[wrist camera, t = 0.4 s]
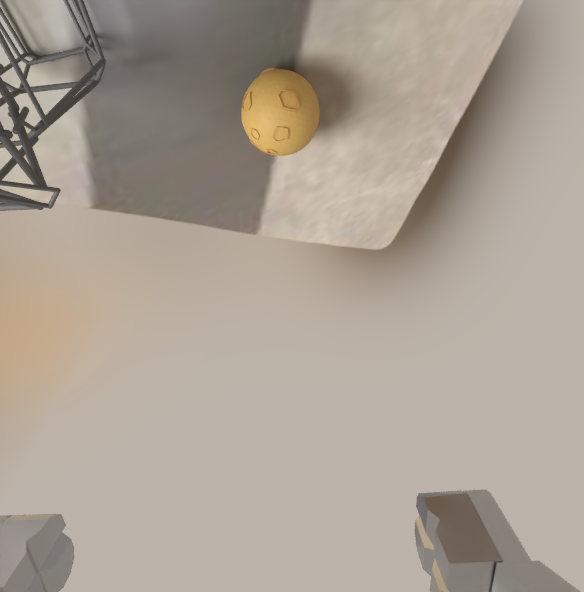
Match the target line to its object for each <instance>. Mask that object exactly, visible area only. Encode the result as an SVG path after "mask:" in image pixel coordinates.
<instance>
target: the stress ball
mask: <svg viewBox="0 0 584 592" xmlns="http://www.w3.org/2000/svg"><path fill="white" fill-rule="evenodd" d="M319 118H320V108H319V102H318V98H317V96H316V93H315V91H314V90H313V88H312V86H311V85H310V84H309V82H308V81H307V80H305V79H304V78H303V77H302V76H300V75H299V74H297V73H295V72H293V71H290V70H284V69H278V68H274V67H273V68H270V69H267V70H265V71H263V72H261V74H260V76H259V77H257V78H256V79H255V80H254V81H253V82H252V83H251V85H250V86H249V88H248V89H247V91H246V93H245V96H244V99H243V102H242V119H241V120H242V123H243V126H244V128H245V131H246V133H247V135H248V137H249V138H250V139H249V140H250V141H251V142H252V144H253V145H254V146H255V147H256V148H258V149H259V150H260V151H262V152H264V153H266V154H267V153H269V154H271V155H277V156H285V155H290V154H293V153H296V152H298V151H300V150H301V149H303V148H304V147H305V146H306V145H307V144H308V143H309V142H310V141H311V140H312V138H313V137H314V135H315V133H316V130H317V128H318V124H319Z"/></svg>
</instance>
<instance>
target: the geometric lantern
mask: <svg viewBox="0 0 584 592" xmlns="http://www.w3.org/2000/svg"><path fill="white" fill-rule="evenodd" d="M72 1H73V3H74V6H75V8H76V10H77V12H78V14H79V16H80V18H81V20H82V22H83V25H84V27H85V29H86V31H87V33H88V36H87V37H86V38H85V36H84V34H83V32H82V30H81V28H80V25H79V23H78V21H77V19H76V17H75V15H74V13H73V11H72V9H71V7H70V5H69V2H68V0H64V2H65V4H66V6H67V8H68V11H69V13H70V15H71V17H72V19H73V21H74V23H75V25H76V27H77V29H78V31H79V33H80V35H81V37H82V39H83V41H84V46H83V47H82V48H77V49H73V50H68V51H64V52H59V53H55V54H51V55H46V56H42V57H36V56H34V55H31V54H29V53H27V51H26V50H25V48H24V46H23V45H22V43H21V41H20V40H19V38H18V36H17V35H16V33H15V31H14V30H13V28H12V26H11V25H10V23H9V21H8V20H7V18H6V16H5V14H4V13H3V11H2V9H1V8H0V15H1V16H2V18H3V19H4V21H5V23H6V24H7V26H8V28H9V29H10V31H11V33H12V34H13V36H14V38H15V39H16V41H17V43H18V44H19V46H20V48H21V49H22V51H23V54H21V55H20V53H19V52H18V50H17V48H16V47H15V45H14V43H13V42H12V40H11V39H10V37H9V35H8V34H7V32H6V31H5V29H4V27H3V26H2V24H1V22H0V29H1V31H2V32H3V34H4V35H5V37H6V39H7V40H8V42H9V43H10V45H11V47H12V48H13V50H14V51H15V53H16V55H17V56H18V58H17V59H15V58H14V56H13V54H12V52H11V50H10V48H9V47H8V45H7V43H6V41H5V39H4V37H3V35H2V33H1V31H0V43H1V45H2V47H3V49H4V51H5V53H6V54H7V56H8V58H9V60H10V62H11V63H10V64H8V65H7V66H5V67H3V65H2V64H0V75H2V74H3V73H5V72H6V71H7V70H9V69H10V68H12V67H14V69H15V71H16V73H17V75H18V77H19V78H20V80H21V84H20V87H19V88H18V89H17V88H15V87H13V86H11V85H9V84H8V83H6V82H4V81H3V80H2V79H1V77H0V93H1V95H2V96H3V97H2V98H1V99H0V106H2V105H3V104H5V103H6V102H7V104H8V105H9V107H8V110H9V113H8V115H9V116H10V117H11V118H12V120H13V123H14V127H13V130H12V131H13V133H15V134H18V136H19V138H20V141H12V142H11V140H10V138H12V136H13V134H12V132H11V131H9V130H4V129H3V127H2V124H1V122H0V142H2V143H0V148H3V147H5V148H6V149H7V150H8V151H9V153H10V154H11V155H12V158H11V159H10V161H9V162H8V163H7V164H6V165H5V166H4V167H3V168H2V169H1V170H0V185H3V186H11V187H19V188H27V189H36V190H44V191H52V192H54V194H53V196H52V198H51V200H50V202H49V204H46V203H41V202H37V201H34V200H31V199H28V198H25V197H22V196H19V195H16V194H13V193H10V192H7V191H4V190H1V189H0V202H1V203H0V211H6V210H27V209H38V210H42V209H43V208H44V207H45V208H49V209H50V208H52V207H53V205H54V203H55V201H56V199H57V197H58V195H59V193H60V189H59V188H54V187H47V185H46V182H45V180H44V177H43V174H42V172H41V169H40V167H39V164H38V161H37V159H36V156H35V153H34V151H33V148H32V147H33V146H34V145H35V144H36V142H37V141H38V136H39V135H40V134H41V133H42V132H44V131H45V130H46V129H47V128H48V127H49V126H50V125H52V124H53V123H54V122H55V121H56V120H57V119H59V118H60V117H61V116H62V115H63V114H64V113H65V112H67V111H68V110H69V109H70V108H71V107H72V106H74V105H75V104H76V103H77V102H78V101H79V100H81V99H82V98H83V97H84V96H85V95H86V94H88V93H89V92H90V91H91V90H92V89H93V88H94V87H95V86H96V85H98V83H99V82H100V79H101V76H102V73H103V70H104V67H105V63H106V62H105V61H106V60H105V58H104V56H103V53H102V50H101V47H100V45H99V42H98V39H97V37H96V34H95V31H94V29H93V26H92V23H91V20H90V18H89V15H88V12H87V10H86V7H85V4H84V1H83V0H77V1H78V3H79V6H80V8H79V6H78V4H77V2H76V0H72ZM80 9H81V11H82V13H81V11H80ZM82 14H83V15H82ZM88 41H89V44H88ZM92 42H93V43H94V46H95V48H96V50H95V49H94V48H93V47H92ZM86 50H91V51H92V52H93V53H94V54H96V55H97V56H98V57H99V59H100V60H99V61H98V62H97V63H96V64H95V65H94V67H93V65H92V63H91V60H90V58H89V56H88V54H87V51H86ZM80 53H84V55H85V57H86V59H87V62H88V64H89V66H90V68H91V70H90V71H89V72H88V73H87V74H86V75H85V76H84V77H83V78H82V79H81V80H80V81H79V82H70V83H62V84H53V85H44V86H35V87H30V86H29V84H28V82H27V80H26V78H27V75H28V72H29V68H30V65H34V64H38V63H42V62H47V61H51V60H55V59H59V58H63V57H67V56H71V55H75V54H80ZM26 56H27V57H30V58H32V59H33V60H32V61H30V62H29V61H27V60H26V59H24V57H26ZM20 61H23V62H25V63H26V67H25V71H24V74H23V73H22V71H21V69H20V67H19V65H18V64H17V63H19V62H20ZM96 72H97V74H96ZM93 76H94V78H95V79H94V80H90V79H91V78H92V77H93ZM83 86H86V87H85V88H84V89H83V90H82V91H80V89H81V88H82V87H83ZM65 88H72V89H71V90H70V91H69V92H68V93H67V94H66V95H65V96H64V97H63V98H62V99H61V100H60V101H59V102H58V103H57V104H56V105H55V106H54V107H53V108H52V109H51V110H50V111H49V112H48V114H47V115H46V116H45V114H44V112H43V111H42V109H41V107H40V105H39V103H38V101H37V99H36V97H35V96H34V94H33V92H39V91H48V90H57V89H65ZM8 89H9V90H10V91H12V92H9V90H8ZM79 91H80V92H79ZM78 92H79V93H78ZM22 93H28V95H29V97H30V99H31V101H32V102H33V104H34V106H35V108H36V110H37V112H38V113H39V115H40V117H41V119H42V120H41V121H40V122H39V123H38V124H37V125H36V126H35V127H33V126H31V125H30V124H28V123H27V122H25V119H26V116H27V114H28V112H29V109H28V108H27V107H23V109H22V111H21V113H20V114H19V112H18V111H19V106H18V104H17V103H16V101H15V99H14V97H16V96H17V95H19V94H22ZM77 93H78V94H77ZM76 94H77V95H76ZM24 126H26V127H28V128H29V129H31V131H30V132H29V133H28V135H27V133H26V130H25V127H24ZM18 145H22V146H23V147H22V148H21V149H20V150H19V151H18V149H17V148H16V147H15V146H18ZM25 154H26V157H27V159H28V162H29V164H30V165H29V164H28V163H27V161H26V160H25V159H24V157H23V156H24V155H25ZM17 163H18V164H19V166H20V167H21V168H22V169H23V171H24V172H25V173H26V175H27V176H28V177H29V178H30V180H31V181H32V182H33V184H34V185H31V184H23V183H15V182H8V181H1V180H2V179H3V178H4V177H5V176H6V175H7V174H8V173H9V172H10V170H11V169H12V168H13V167H14V166H15V165H16V164H17Z"/></svg>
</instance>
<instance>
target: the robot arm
mask: <svg viewBox="0 0 584 592" xmlns="http://www.w3.org/2000/svg"><path fill="white" fill-rule="evenodd" d="M416 507H417V509H418V512H419V515H420V516H419V517H418V518H417V519H416V520H415V537H416V546H417V550H418V554H419V558H420V561H421V564H422V567H423V569H424V570H425V571H426V572H427V573H428V574H429V575H430V576H431V585H430V592H580V591H579V590H577V589H576V588H575V587H573V586H572V585H571V584H569V583H568V582H567V581H565V580H564V579H563V578H561V577H560V576H559V575H557V574H556V573H555V572H553V571H552V570H551V569H549V568H548V567H547V566H545V565H544V564H543V563H541V562H540V561H531V559H530V557H529V556H528V554H527V552H526V551H525V549H524V547H523V546H522V545H521V542H520V541H519V539H518V538H517V536H516V534H515V533H514V531H513V529H512V528H511V526H510V524H509V523H508V521H507V519H506V518H505V516H504V514H503V513H502V511H501V509H500V508H499V506H498V504H497V503H496V501H495V499H494V498H493V496H492V495H491V493H490V492H489V491H487V490H470V491H448V492H434V493H421V494H420V493H419V494H418V496H417V504H416ZM65 526H66V525H65V522H64V520H63V517H62V515H60V514H42V515H41V514H40V515H11V516H0V592H58V591H60V590H61V589H62V588H63V587H64V585H65V583H66V581H67V579H68V577H69V575H70V572H71V568H72V564H73V560H74V546H73V543H72V541H71V539H70V538H69V537H68V536H66V535H65V534H63V533H62V531H63V529H64V527H65Z"/></svg>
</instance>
